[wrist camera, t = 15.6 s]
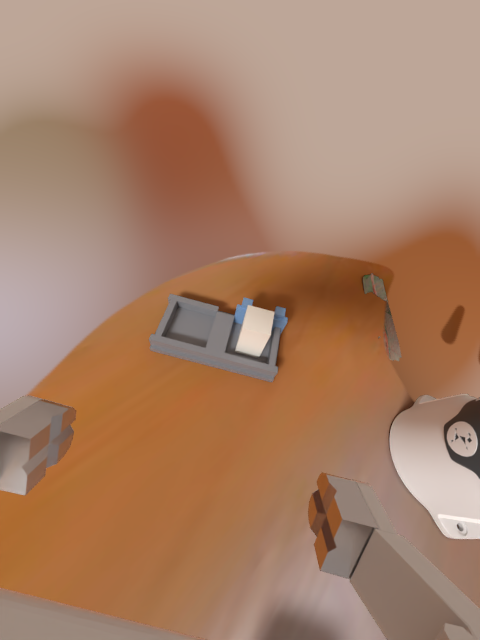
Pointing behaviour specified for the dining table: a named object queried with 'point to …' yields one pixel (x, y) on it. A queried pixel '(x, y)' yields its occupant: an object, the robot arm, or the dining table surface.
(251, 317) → the white rectangular block
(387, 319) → the map
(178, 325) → the two-compartment grey tray
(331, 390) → the dining table surface
